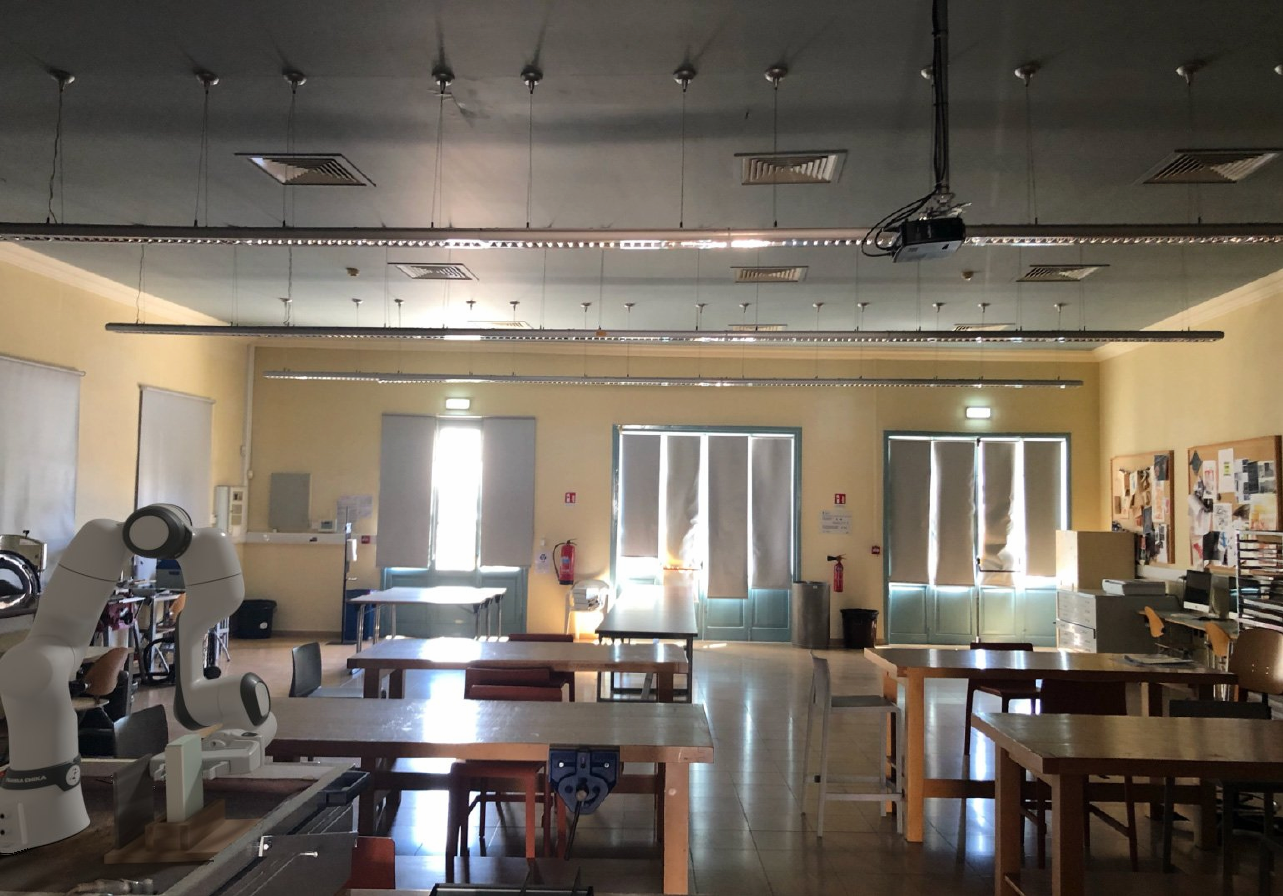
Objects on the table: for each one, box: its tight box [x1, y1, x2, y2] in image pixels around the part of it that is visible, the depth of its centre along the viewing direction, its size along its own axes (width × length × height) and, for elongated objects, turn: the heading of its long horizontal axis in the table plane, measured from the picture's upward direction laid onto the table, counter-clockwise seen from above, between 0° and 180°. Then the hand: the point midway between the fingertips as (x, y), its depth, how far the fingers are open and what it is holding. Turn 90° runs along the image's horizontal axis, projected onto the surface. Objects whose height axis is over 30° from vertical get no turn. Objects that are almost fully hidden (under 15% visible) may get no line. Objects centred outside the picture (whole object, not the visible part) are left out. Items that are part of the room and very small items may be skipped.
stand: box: [103, 753, 264, 865], centre depth 154 cm, size 22×14×16 cm, turn 87°
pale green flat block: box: [164, 733, 204, 822], centre depth 154 cm, size 3×6×18 cm, turn 177°
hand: (182, 776), depth 153 cm, fingers open, 8 cm apart
